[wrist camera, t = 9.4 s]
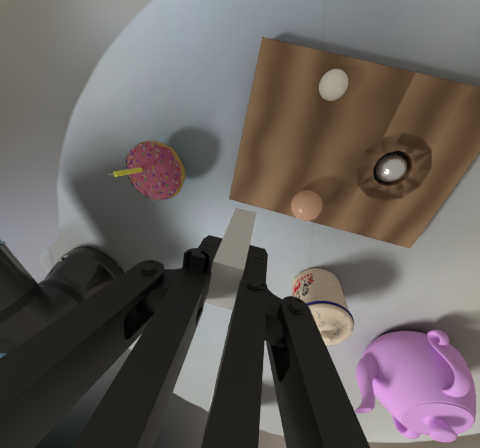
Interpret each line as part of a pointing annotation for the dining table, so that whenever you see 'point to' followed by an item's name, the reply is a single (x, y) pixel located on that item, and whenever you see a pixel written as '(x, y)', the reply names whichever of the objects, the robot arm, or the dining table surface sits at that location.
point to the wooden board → (354, 141)
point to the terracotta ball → (306, 205)
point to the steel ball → (391, 168)
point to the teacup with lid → (325, 303)
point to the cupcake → (154, 170)
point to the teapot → (418, 384)
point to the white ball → (333, 84)
